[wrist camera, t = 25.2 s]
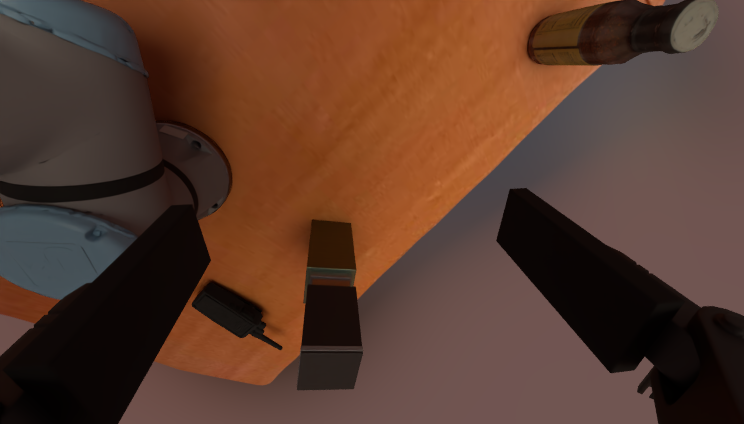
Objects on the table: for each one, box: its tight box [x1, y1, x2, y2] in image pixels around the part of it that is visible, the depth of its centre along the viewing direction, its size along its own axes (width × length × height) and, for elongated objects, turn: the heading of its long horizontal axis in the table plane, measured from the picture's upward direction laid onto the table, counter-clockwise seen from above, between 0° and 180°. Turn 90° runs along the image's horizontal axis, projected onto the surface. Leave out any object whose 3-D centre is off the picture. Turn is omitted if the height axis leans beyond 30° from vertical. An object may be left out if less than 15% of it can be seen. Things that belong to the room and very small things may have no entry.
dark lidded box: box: [297, 284, 363, 390], centre depth 36 cm, size 6×6×10 cm
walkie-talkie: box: [192, 283, 282, 350], centre depth 57 cm, size 6×6×20 cm
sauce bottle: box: [528, 0, 718, 66], centre depth 33 cm, size 6×6×20 cm
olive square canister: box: [303, 220, 356, 303], centre depth 47 cm, size 7×7×16 cm
